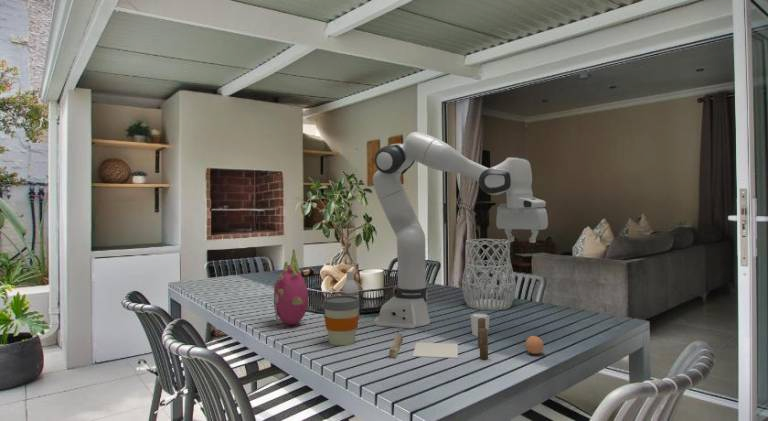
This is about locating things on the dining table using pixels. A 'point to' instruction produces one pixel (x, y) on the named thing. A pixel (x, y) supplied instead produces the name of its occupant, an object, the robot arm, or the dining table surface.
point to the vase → (488, 277)
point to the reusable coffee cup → (341, 319)
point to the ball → (534, 345)
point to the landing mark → (436, 350)
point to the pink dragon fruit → (290, 294)
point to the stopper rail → (396, 345)
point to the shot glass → (475, 322)
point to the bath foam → (350, 286)
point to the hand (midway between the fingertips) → (521, 242)
